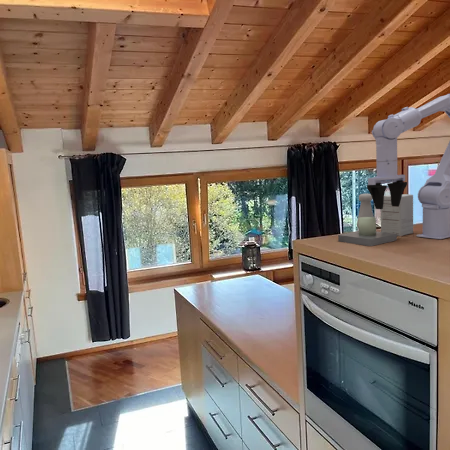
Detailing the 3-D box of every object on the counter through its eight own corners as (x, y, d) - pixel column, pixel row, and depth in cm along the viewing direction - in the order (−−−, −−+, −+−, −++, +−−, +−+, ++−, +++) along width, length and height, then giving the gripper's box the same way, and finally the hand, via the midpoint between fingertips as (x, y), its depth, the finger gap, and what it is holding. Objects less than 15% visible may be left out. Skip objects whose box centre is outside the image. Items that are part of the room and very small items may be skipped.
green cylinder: (365, 232, 134) (365, 216, 134) (379, 234, 130) (379, 217, 130) (355, 234, 132) (355, 218, 131) (368, 236, 128) (368, 219, 127)
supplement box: (393, 231, 146) (393, 193, 144) (414, 233, 140) (414, 194, 138) (380, 234, 142) (379, 195, 140) (400, 236, 136) (400, 196, 134)
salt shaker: (353, 231, 149) (352, 194, 147) (366, 229, 151) (365, 192, 149) (365, 233, 144) (365, 194, 142) (378, 231, 146) (378, 193, 144)
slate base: (364, 236, 140) (364, 229, 139) (396, 240, 130) (396, 233, 129) (338, 241, 133) (338, 234, 133) (370, 246, 123) (370, 239, 123)
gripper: (390, 160, 133) (391, 204, 135) (359, 163, 125) (360, 209, 127) (411, 159, 127) (411, 205, 129) (379, 162, 119) (380, 210, 121)
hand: (387, 207), depth 128 cm, fingers open, 7 cm apart
